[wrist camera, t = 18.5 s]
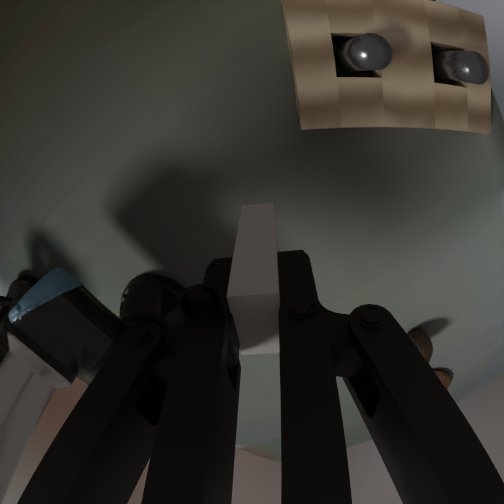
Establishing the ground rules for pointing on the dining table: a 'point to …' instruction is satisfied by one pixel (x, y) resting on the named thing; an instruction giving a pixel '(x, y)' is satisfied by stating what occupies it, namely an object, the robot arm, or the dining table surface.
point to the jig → (394, 75)
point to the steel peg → (460, 66)
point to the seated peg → (364, 53)
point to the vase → (422, 343)
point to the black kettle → (16, 291)
